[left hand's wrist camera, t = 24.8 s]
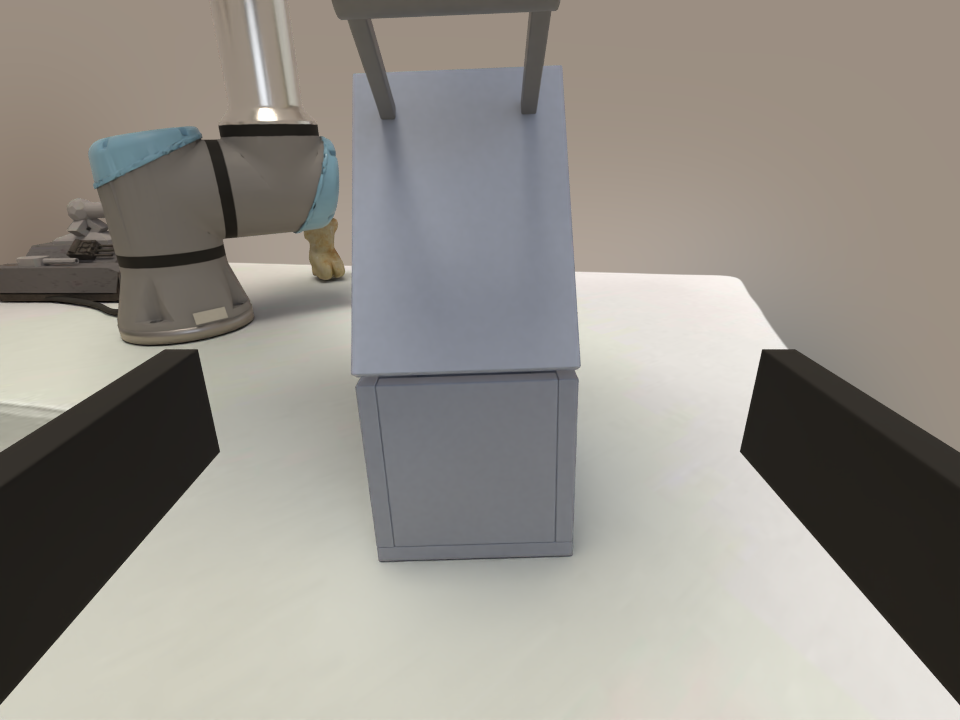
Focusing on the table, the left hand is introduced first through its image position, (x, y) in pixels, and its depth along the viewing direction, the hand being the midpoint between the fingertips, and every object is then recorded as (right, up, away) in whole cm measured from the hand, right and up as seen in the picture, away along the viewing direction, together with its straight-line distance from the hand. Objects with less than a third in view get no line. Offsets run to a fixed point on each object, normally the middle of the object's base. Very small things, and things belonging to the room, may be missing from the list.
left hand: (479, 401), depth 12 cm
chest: (0, -7, +20) cm, 21 cm away
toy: (-66, +14, +79) cm, 104 cm away
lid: (-1, +8, +12) cm, 14 cm away
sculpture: (-27, +15, +79) cm, 85 cm away
